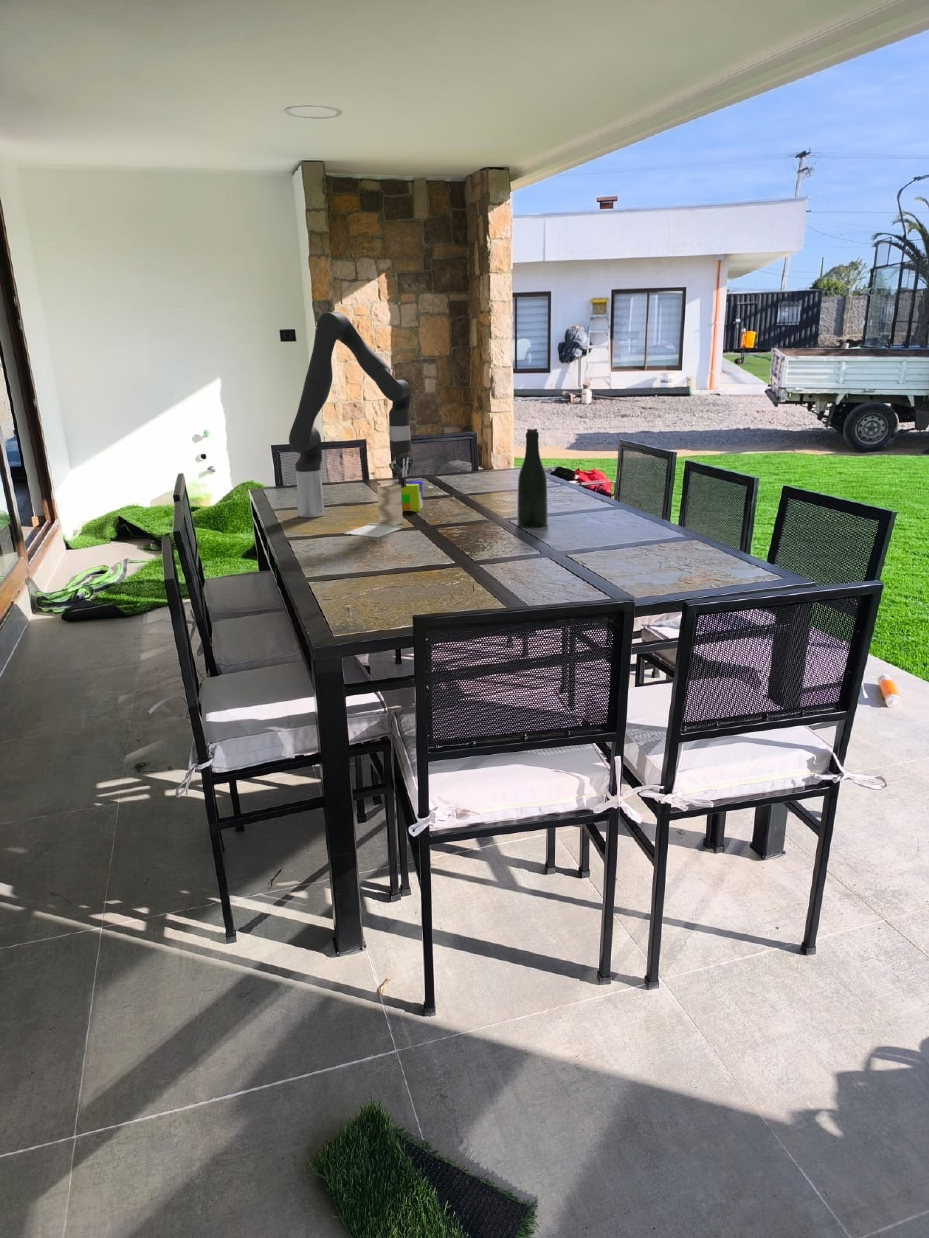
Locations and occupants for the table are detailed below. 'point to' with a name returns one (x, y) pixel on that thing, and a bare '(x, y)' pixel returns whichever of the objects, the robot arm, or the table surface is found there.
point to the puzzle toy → (411, 496)
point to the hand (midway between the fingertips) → (402, 487)
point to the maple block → (390, 504)
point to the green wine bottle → (532, 486)
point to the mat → (374, 530)
